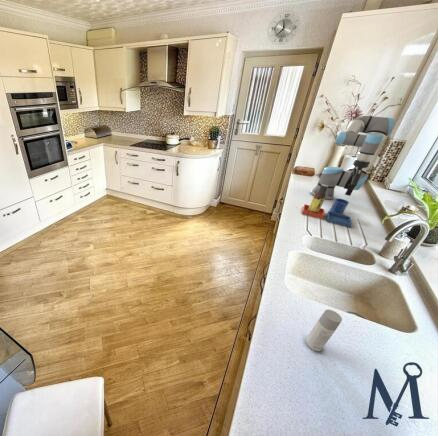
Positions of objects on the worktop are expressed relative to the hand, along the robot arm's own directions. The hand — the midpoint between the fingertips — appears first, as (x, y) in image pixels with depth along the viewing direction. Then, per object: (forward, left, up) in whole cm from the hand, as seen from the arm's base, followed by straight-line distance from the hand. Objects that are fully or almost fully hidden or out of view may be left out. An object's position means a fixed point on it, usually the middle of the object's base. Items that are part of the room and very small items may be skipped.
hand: (346, 191), depth 155 cm
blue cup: (0, 0, -16) cm, 16 cm away
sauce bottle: (+12, -14, -16) cm, 24 cm away
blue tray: (+14, +1, -16) cm, 21 cm away
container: (+124, -10, -16) cm, 125 cm away
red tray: (+12, -14, -16) cm, 24 cm away
